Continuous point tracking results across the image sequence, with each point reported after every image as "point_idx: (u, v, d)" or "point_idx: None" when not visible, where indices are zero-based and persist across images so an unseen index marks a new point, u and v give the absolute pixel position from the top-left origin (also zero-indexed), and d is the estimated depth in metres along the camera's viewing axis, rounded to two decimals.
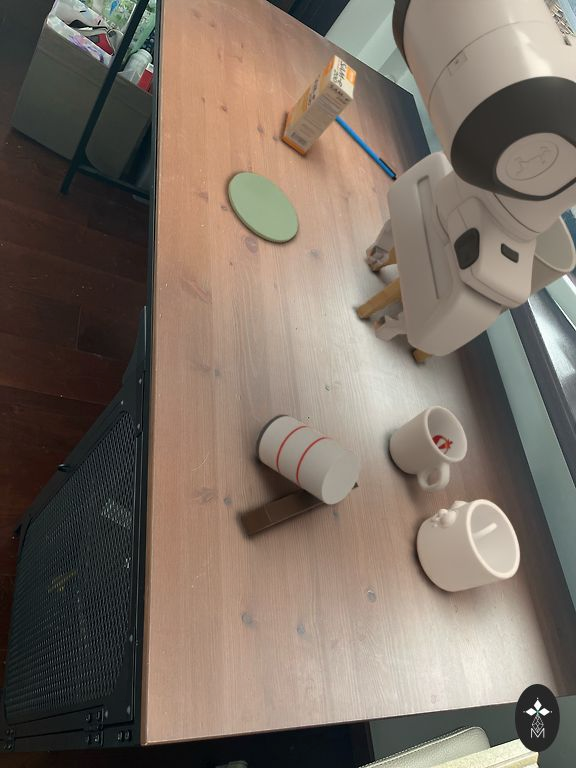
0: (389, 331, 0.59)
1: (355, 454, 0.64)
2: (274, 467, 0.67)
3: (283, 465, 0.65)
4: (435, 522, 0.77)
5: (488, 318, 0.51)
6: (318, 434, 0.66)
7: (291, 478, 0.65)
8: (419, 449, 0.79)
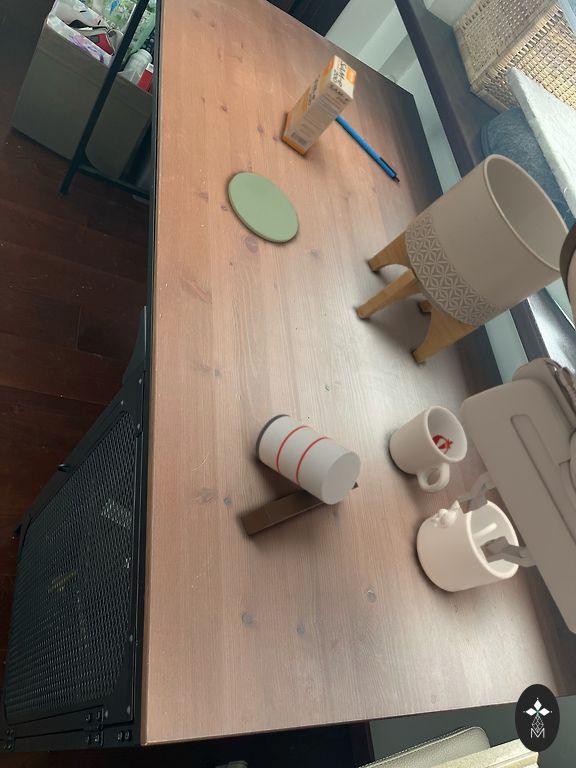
0: None
1: (355, 454, 0.64)
2: (274, 467, 0.67)
3: (283, 465, 0.65)
4: (435, 522, 0.77)
5: None
6: (318, 434, 0.66)
7: (291, 478, 0.65)
8: (419, 449, 0.79)
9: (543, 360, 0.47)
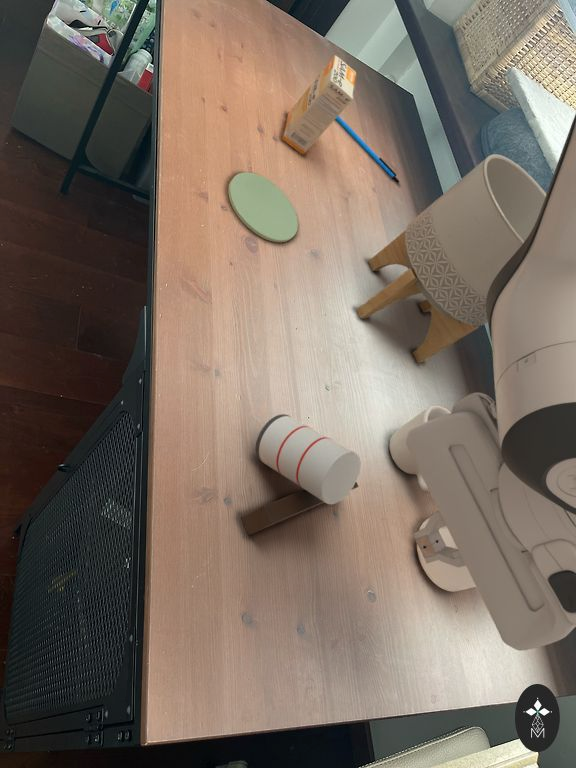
0: None
1: (355, 454, 0.64)
2: (274, 467, 0.67)
3: (283, 465, 0.65)
4: None
5: None
6: (318, 434, 0.66)
7: (291, 478, 0.65)
8: None
9: (477, 395, 0.51)
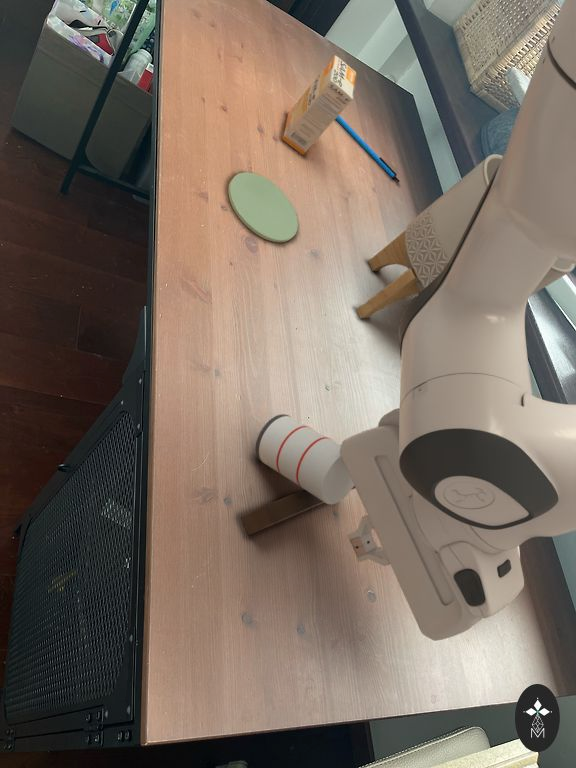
0: None
1: None
2: (274, 467, 0.67)
3: (283, 465, 0.65)
4: None
5: None
6: (318, 434, 0.66)
7: (291, 478, 0.65)
8: None
9: (399, 410, 0.57)
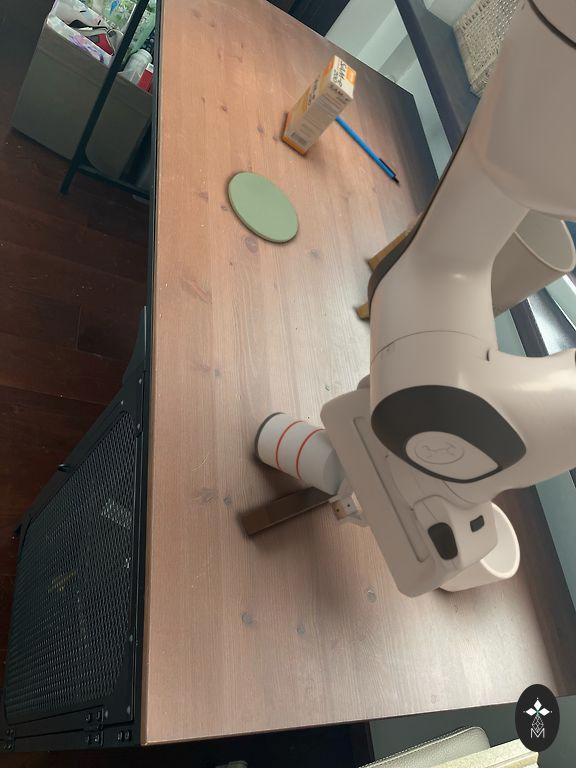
0: None
1: None
2: (274, 464, 0.67)
3: (282, 459, 0.65)
4: None
5: None
6: (315, 426, 0.66)
7: (291, 472, 0.65)
8: None
9: None
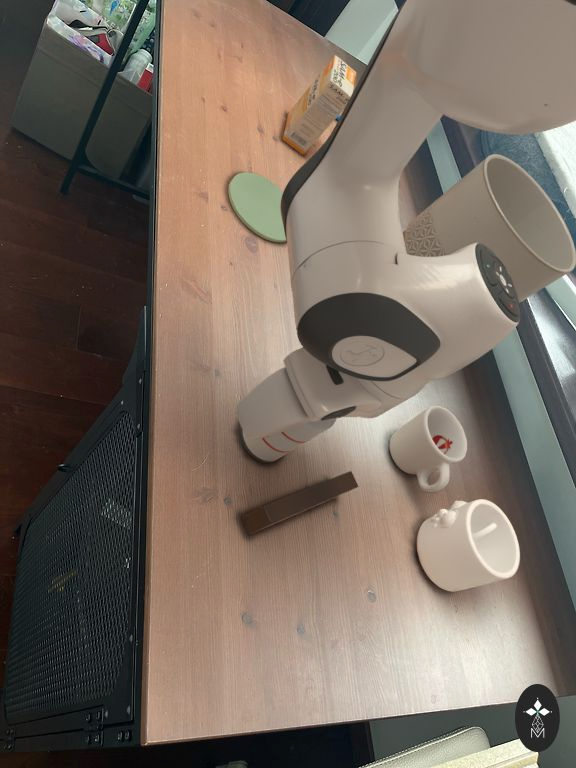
0: None
1: None
2: (265, 447, 0.68)
3: None
4: (435, 522, 0.77)
5: (287, 412, 0.54)
6: None
7: (279, 438, 0.66)
8: (419, 449, 0.79)
9: None
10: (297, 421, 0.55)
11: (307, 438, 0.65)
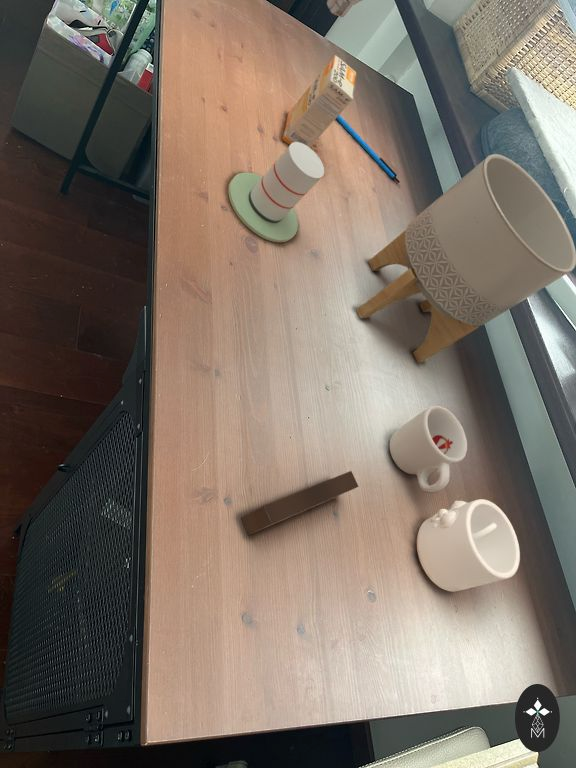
0: None
1: (307, 146, 0.85)
2: (268, 202, 0.87)
3: (269, 188, 0.85)
4: (435, 522, 0.77)
5: None
6: None
7: (279, 190, 0.85)
8: (419, 449, 0.79)
9: None
10: None
11: (301, 188, 0.84)
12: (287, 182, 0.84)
